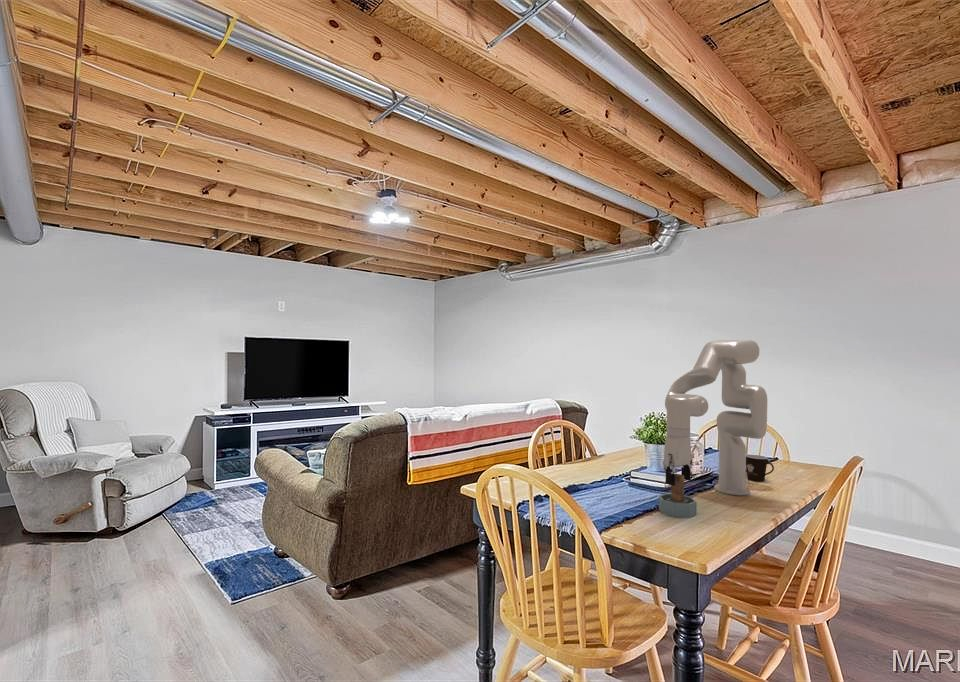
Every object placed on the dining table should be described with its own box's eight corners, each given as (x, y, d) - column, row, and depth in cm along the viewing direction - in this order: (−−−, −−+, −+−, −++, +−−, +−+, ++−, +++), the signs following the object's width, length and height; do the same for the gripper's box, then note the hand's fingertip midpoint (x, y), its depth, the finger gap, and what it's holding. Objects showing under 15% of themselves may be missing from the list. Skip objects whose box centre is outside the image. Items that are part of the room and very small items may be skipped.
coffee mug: (740, 477, 215) (740, 454, 215) (760, 477, 214) (760, 454, 214) (754, 484, 203) (754, 460, 203) (775, 485, 203) (775, 460, 203)
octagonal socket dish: (671, 504, 175) (671, 491, 175) (701, 513, 166) (701, 500, 166) (653, 510, 168) (653, 497, 168) (683, 519, 159) (683, 506, 159)
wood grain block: (675, 508, 169) (676, 473, 169) (683, 510, 167) (684, 475, 167) (671, 509, 167) (671, 474, 168) (679, 512, 165) (679, 476, 165)
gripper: (681, 428, 176) (681, 475, 176) (654, 433, 165) (654, 484, 165) (701, 431, 170) (701, 480, 170) (674, 437, 159) (674, 489, 159)
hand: (678, 482), depth 168 cm, fingers open, 9 cm apart
